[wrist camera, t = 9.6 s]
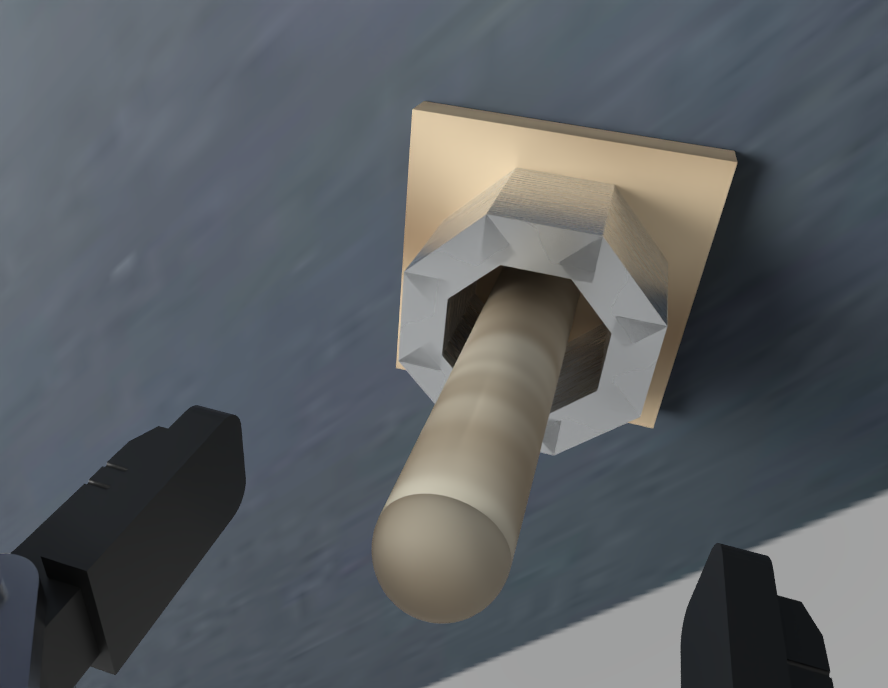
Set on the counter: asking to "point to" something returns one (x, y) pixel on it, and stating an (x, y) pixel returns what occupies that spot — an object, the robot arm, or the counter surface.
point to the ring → (555, 253)
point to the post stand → (520, 340)
